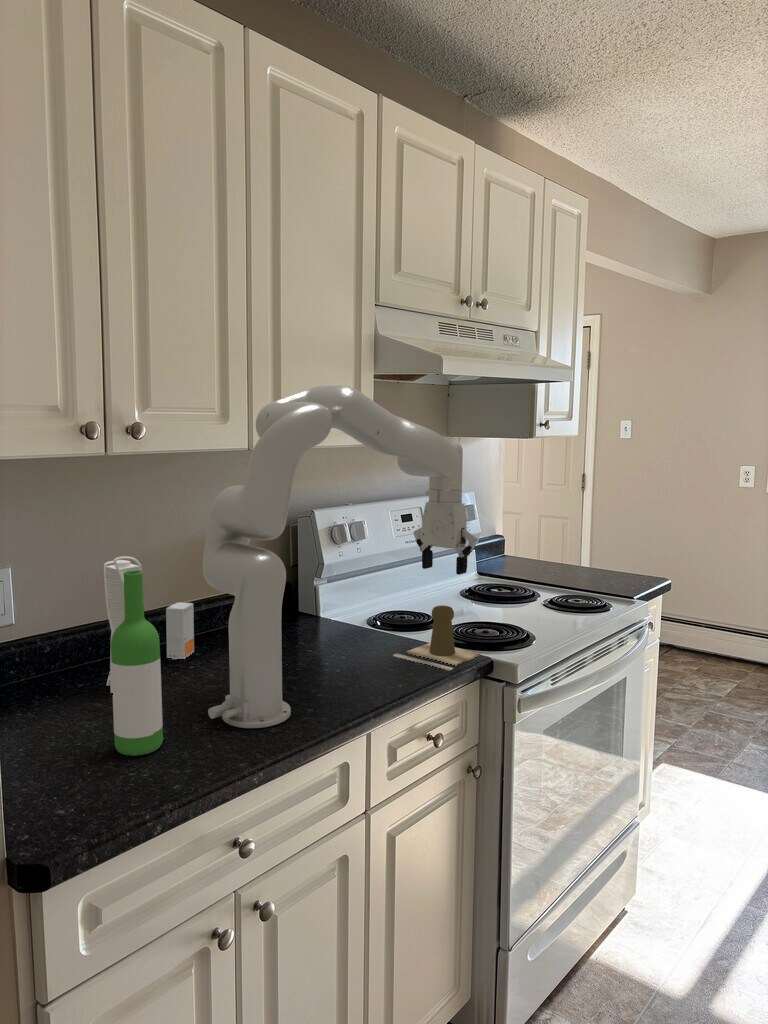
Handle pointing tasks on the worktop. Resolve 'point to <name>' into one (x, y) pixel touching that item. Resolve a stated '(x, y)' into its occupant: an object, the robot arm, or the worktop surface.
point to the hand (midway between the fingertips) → (444, 570)
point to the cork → (442, 632)
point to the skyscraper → (116, 592)
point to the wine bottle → (136, 676)
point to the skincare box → (180, 630)
